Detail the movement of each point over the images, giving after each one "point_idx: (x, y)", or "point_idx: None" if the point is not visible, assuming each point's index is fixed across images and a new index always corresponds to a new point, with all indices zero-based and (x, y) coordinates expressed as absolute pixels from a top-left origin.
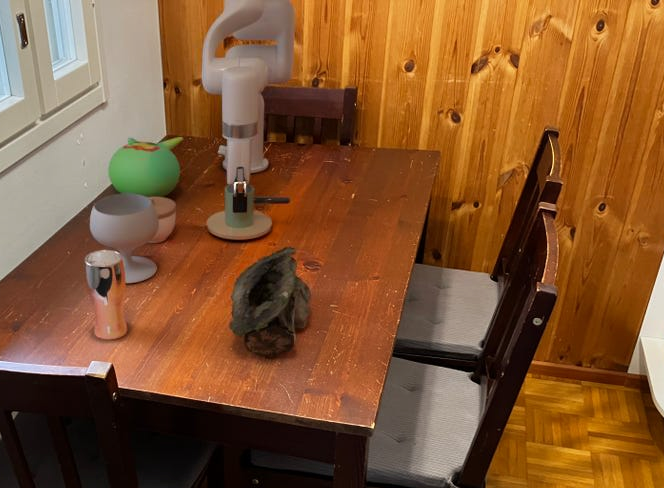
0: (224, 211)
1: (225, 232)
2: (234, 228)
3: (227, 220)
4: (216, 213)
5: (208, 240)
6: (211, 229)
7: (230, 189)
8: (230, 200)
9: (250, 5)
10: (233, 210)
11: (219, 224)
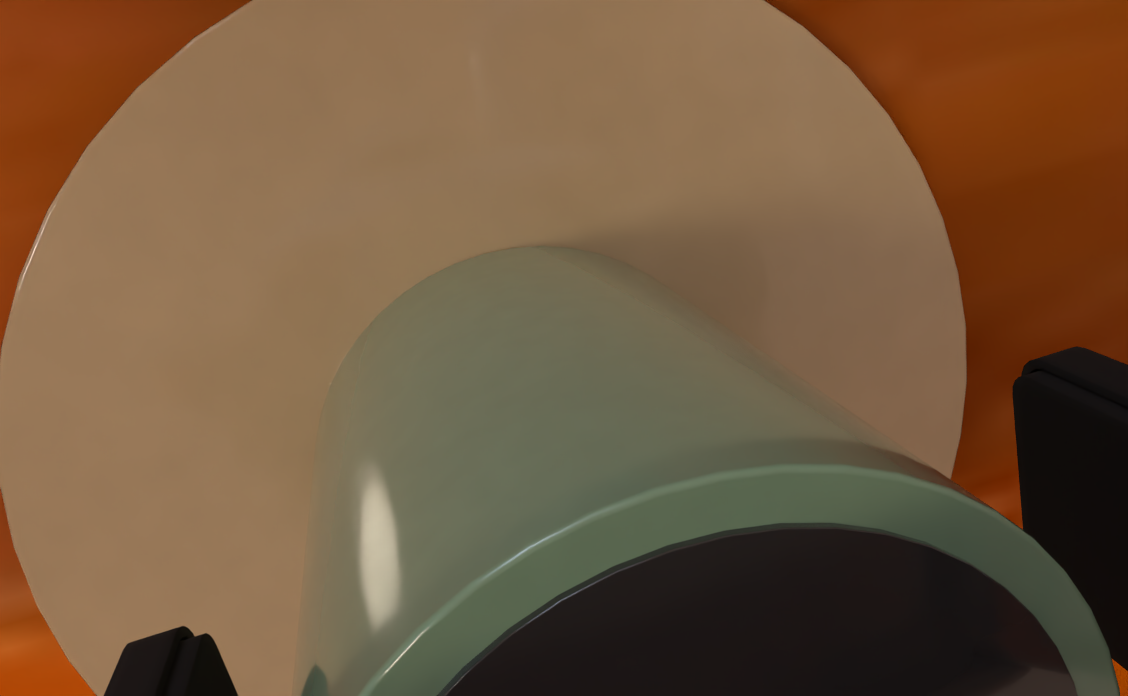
0: (870, 140)
1: (87, 373)
2: (286, 461)
3: (364, 355)
4: (786, 29)
5: (39, 80)
6: (122, 110)
7: (632, 685)
8: (306, 645)
9: None
10: (128, 674)
11: (375, 191)
